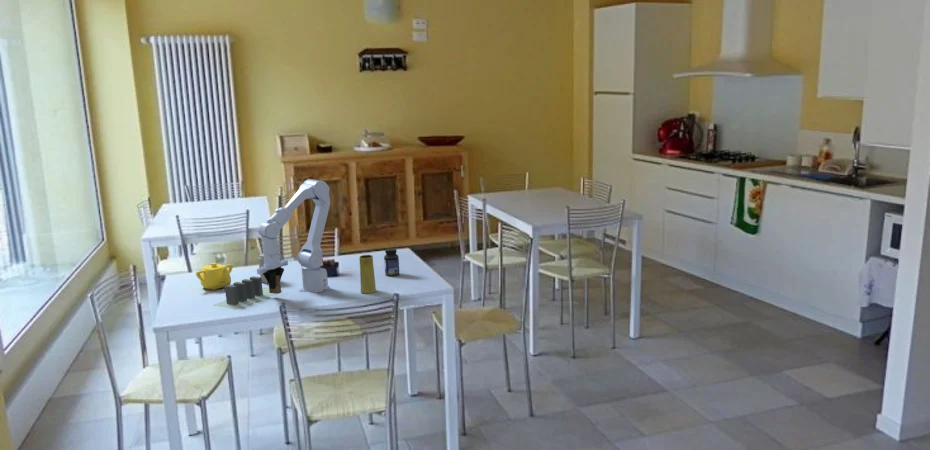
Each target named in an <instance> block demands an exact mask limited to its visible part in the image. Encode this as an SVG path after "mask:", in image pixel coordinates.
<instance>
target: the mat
mask: <svg viewBox="0 0 930 450" xmlns="http://www.w3.org/2000/svg"><path fill="white" fill-rule="evenodd" d="M262 290H263V295H261V296H257V295H255V298H253V299H249V298H247V301H245V302H240V301H239V304H237V305H231V304H227V301H226V300H223V301H220V302H218V303H215V304H214V306H217V307H222V308H227V309H232V310H233V309H235V310H237V309H239V308H241V307H242V308H243V307H245V306H248V305H250V304H254V303H256V302H257V301H261V300H263V299H266V298H268V297H270V296H273V295H276V294H275V293H270V292H269V287H262ZM282 292H283V290H282V289H281V293H282Z"/></svg>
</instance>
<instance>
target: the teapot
mask: <svg viewBox="0 0 930 450" xmlns="http://www.w3.org/2000/svg"><path fill="white" fill-rule="evenodd" d="M232 270H233V264H231V263H230V264H229V263H228V264H225V265H224V264H220V263H217V262H211V263H210V264H205V265H204V266H202V268H201V270H197V271H196V272H195V275H196V277H197V279H198V280H199V281H200V285H201V286H202V287H203V288H205V289H207V290H211V291H216V290H217V289H221V288H225V286H226V285H231V283H232V278H231V272H232Z"/></svg>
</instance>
